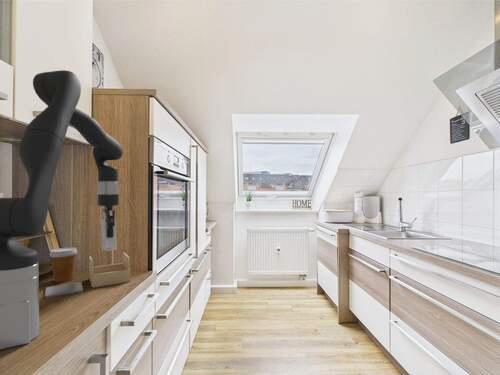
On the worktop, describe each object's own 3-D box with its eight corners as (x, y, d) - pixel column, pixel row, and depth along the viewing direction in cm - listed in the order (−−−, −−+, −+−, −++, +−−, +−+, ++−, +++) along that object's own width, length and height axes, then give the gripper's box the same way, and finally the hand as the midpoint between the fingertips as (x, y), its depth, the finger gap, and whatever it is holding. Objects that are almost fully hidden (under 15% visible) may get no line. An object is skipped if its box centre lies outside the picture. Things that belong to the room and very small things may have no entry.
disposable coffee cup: (53, 278, 122) (52, 248, 122) (79, 275, 125) (79, 246, 125) (46, 285, 113) (46, 252, 113) (75, 281, 116) (75, 250, 116)
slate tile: (83, 291, 104) (83, 289, 104) (44, 298, 99) (44, 296, 99) (81, 283, 114) (81, 281, 114) (46, 289, 108) (46, 287, 108)
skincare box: (117, 249, 116) (117, 218, 117) (104, 251, 114) (104, 219, 114) (113, 247, 121) (112, 217, 121) (100, 249, 118) (100, 218, 119)
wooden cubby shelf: (130, 281, 115) (130, 257, 115) (92, 287, 108) (91, 262, 109) (124, 273, 126) (124, 252, 126) (89, 278, 120) (89, 256, 120)
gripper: (95, 193, 122) (96, 235, 122) (99, 193, 110) (100, 239, 109) (116, 193, 126) (116, 233, 126) (121, 193, 114) (122, 237, 113)
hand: (108, 236), depth 117 cm, fingers closed on skincare box, 6 cm apart
